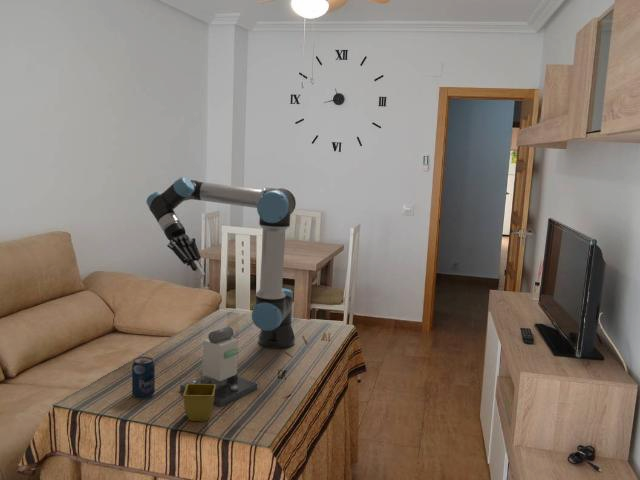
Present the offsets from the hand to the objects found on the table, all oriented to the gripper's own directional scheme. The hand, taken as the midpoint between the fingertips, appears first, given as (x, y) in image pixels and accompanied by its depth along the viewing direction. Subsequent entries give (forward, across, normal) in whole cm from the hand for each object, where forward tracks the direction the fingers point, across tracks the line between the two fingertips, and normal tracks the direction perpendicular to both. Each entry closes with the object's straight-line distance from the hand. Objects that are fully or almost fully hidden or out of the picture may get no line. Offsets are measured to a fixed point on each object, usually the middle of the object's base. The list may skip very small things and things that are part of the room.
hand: (202, 276), depth 227 cm
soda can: (+31, +38, -13) cm, 51 cm away
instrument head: (+40, +19, +1) cm, 45 cm away
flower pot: (+49, +38, +4) cm, 62 cm away
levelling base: (+42, +19, -2) cm, 46 cm away
